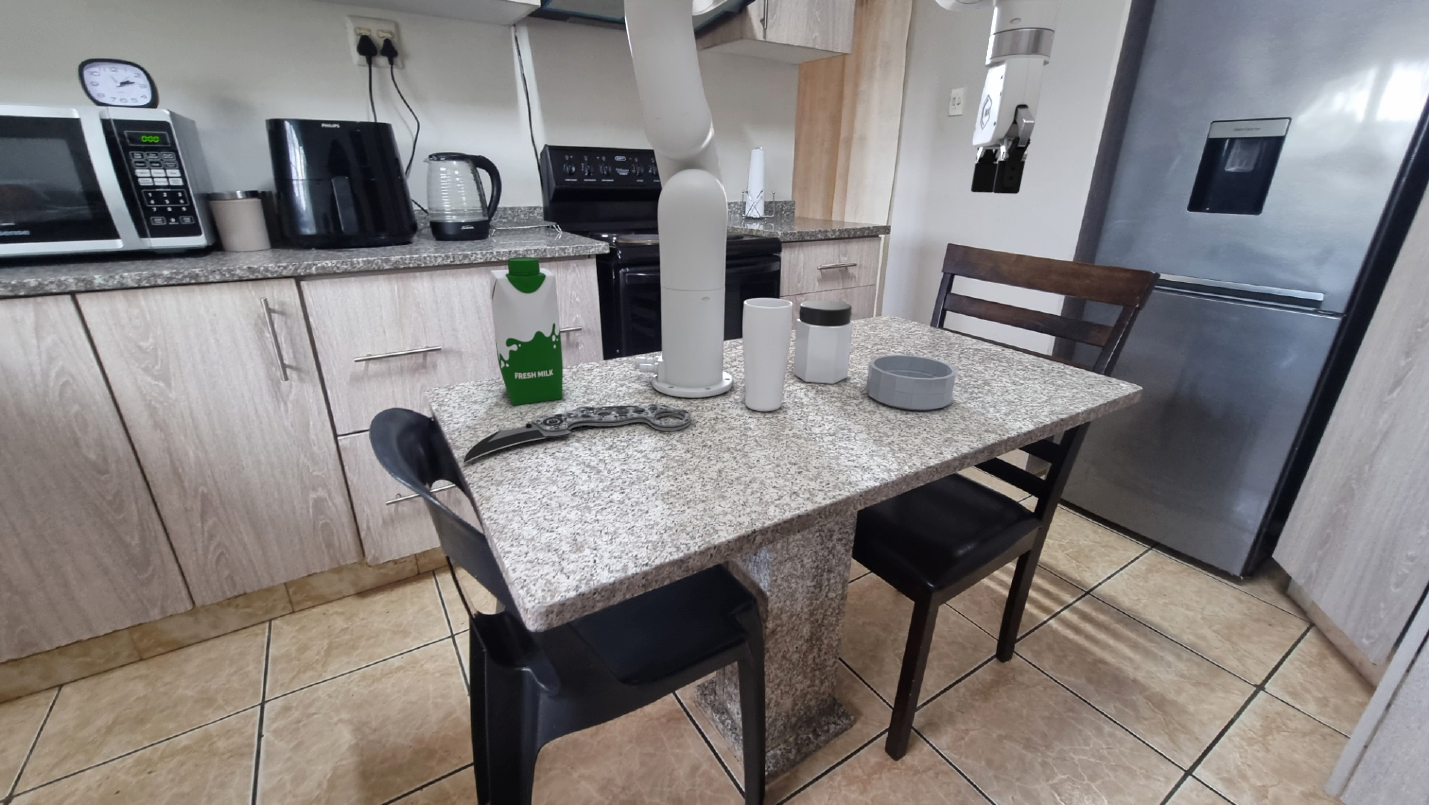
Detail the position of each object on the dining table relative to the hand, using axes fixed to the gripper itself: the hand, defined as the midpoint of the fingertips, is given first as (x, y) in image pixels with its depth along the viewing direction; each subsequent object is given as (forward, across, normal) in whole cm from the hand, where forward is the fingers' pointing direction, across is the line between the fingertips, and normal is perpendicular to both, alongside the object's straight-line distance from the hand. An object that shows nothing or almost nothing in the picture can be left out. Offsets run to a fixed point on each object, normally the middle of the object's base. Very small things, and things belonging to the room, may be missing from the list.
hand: (993, 192), depth 81 cm
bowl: (+29, +5, -8) cm, 31 cm away
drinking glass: (+30, +12, -30) cm, 44 cm away
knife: (+30, +25, -52) cm, 65 cm away
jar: (+30, -4, -21) cm, 37 cm away
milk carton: (+30, +13, -64) cm, 72 cm away
